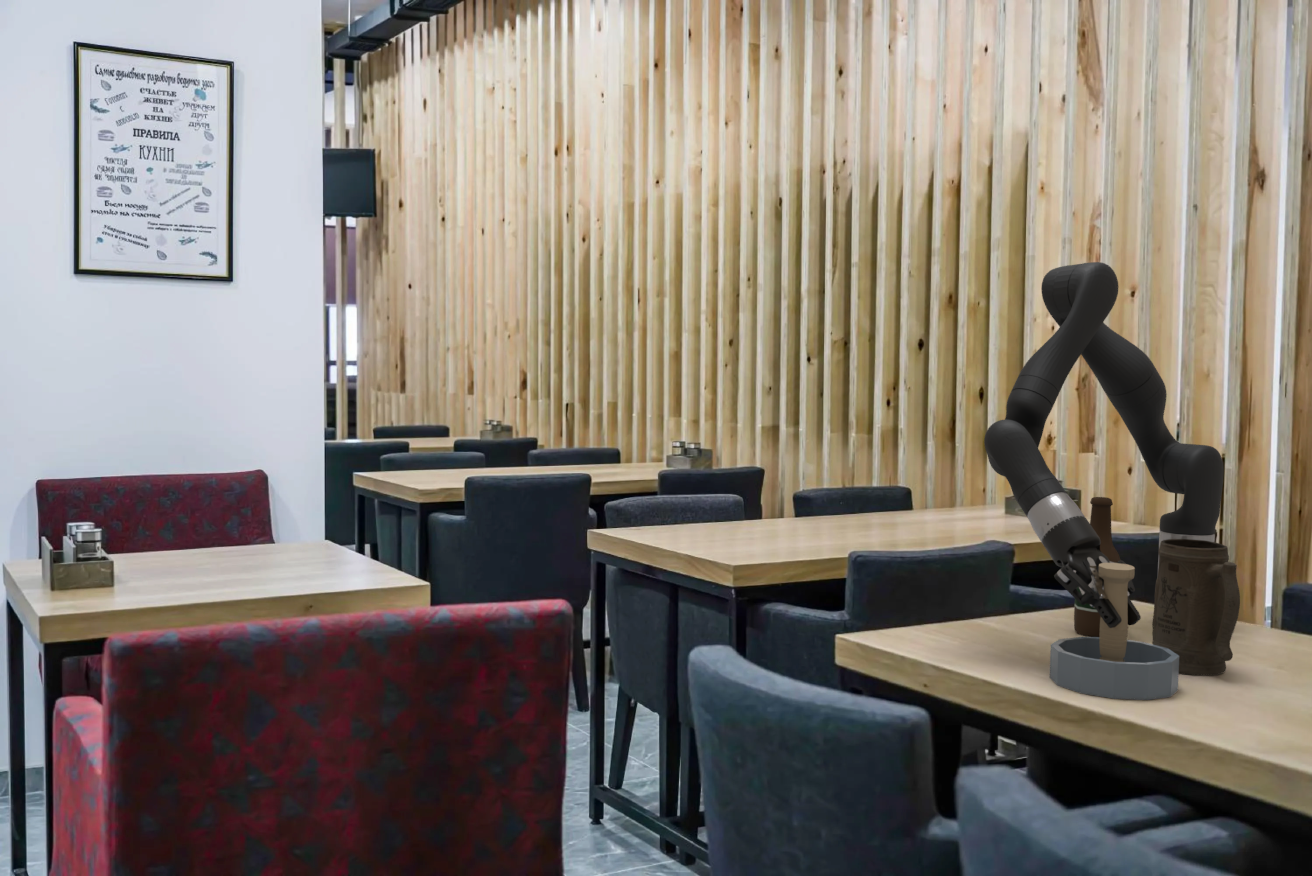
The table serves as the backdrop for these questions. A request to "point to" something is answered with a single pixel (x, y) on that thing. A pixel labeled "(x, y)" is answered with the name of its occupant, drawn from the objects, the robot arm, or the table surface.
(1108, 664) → the bowl
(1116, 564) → the handle
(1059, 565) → the robot arm
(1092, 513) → the beer bottle
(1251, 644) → the table surface
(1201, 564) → the beer stein
